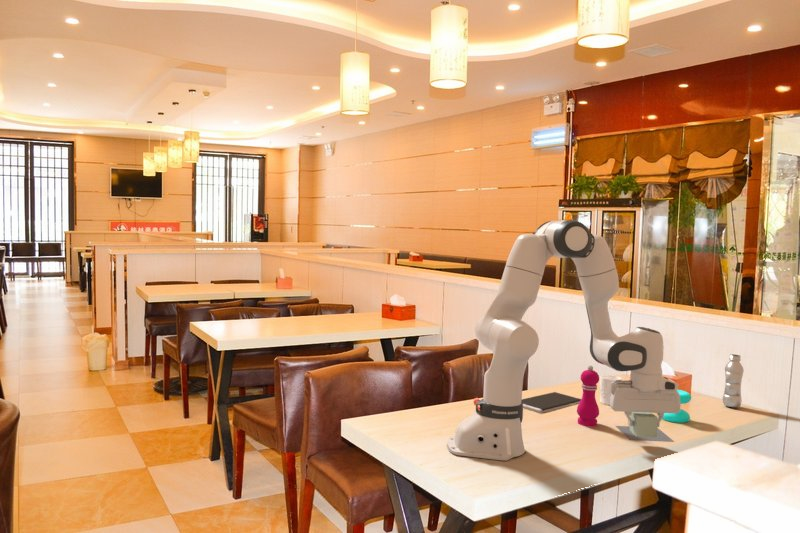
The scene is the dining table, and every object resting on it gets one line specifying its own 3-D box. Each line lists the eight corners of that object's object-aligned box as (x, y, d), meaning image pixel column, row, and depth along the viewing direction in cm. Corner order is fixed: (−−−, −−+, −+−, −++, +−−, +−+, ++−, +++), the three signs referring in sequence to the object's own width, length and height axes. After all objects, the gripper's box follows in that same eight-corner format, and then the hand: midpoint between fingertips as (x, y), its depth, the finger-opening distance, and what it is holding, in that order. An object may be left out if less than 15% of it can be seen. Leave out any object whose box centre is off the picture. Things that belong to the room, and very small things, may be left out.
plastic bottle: (741, 406, 237) (745, 355, 236) (740, 410, 232) (744, 357, 231) (722, 403, 241) (726, 352, 240) (721, 407, 235) (724, 355, 234)
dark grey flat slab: (583, 403, 236) (583, 399, 236) (540, 414, 219) (540, 409, 219) (554, 395, 246) (554, 391, 246) (510, 405, 229) (511, 401, 229)
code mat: (629, 440, 193) (629, 439, 193) (615, 426, 207) (615, 425, 207) (674, 442, 192) (674, 441, 192) (657, 428, 206) (657, 427, 206)
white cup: (623, 406, 232) (624, 380, 231) (602, 405, 232) (603, 379, 231) (616, 400, 239) (617, 375, 239) (595, 399, 239) (597, 374, 239)
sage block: (636, 436, 185) (637, 416, 184) (629, 430, 191) (630, 411, 190) (656, 437, 185) (657, 417, 184) (649, 430, 191) (650, 411, 190)
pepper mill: (599, 428, 204) (603, 368, 203) (576, 426, 205) (580, 366, 204) (597, 422, 211) (600, 364, 210) (575, 420, 212) (578, 362, 211)
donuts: (695, 392, 217) (685, 397, 209) (693, 420, 217) (683, 426, 210) (666, 386, 224) (655, 391, 216) (664, 413, 224) (654, 419, 217)
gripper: (614, 382, 184) (612, 428, 185) (684, 384, 183) (681, 430, 184) (608, 377, 190) (605, 421, 191) (675, 379, 190) (672, 424, 190)
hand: (643, 426), depth 187 cm, fingers closed on sage block, 6 cm apart
